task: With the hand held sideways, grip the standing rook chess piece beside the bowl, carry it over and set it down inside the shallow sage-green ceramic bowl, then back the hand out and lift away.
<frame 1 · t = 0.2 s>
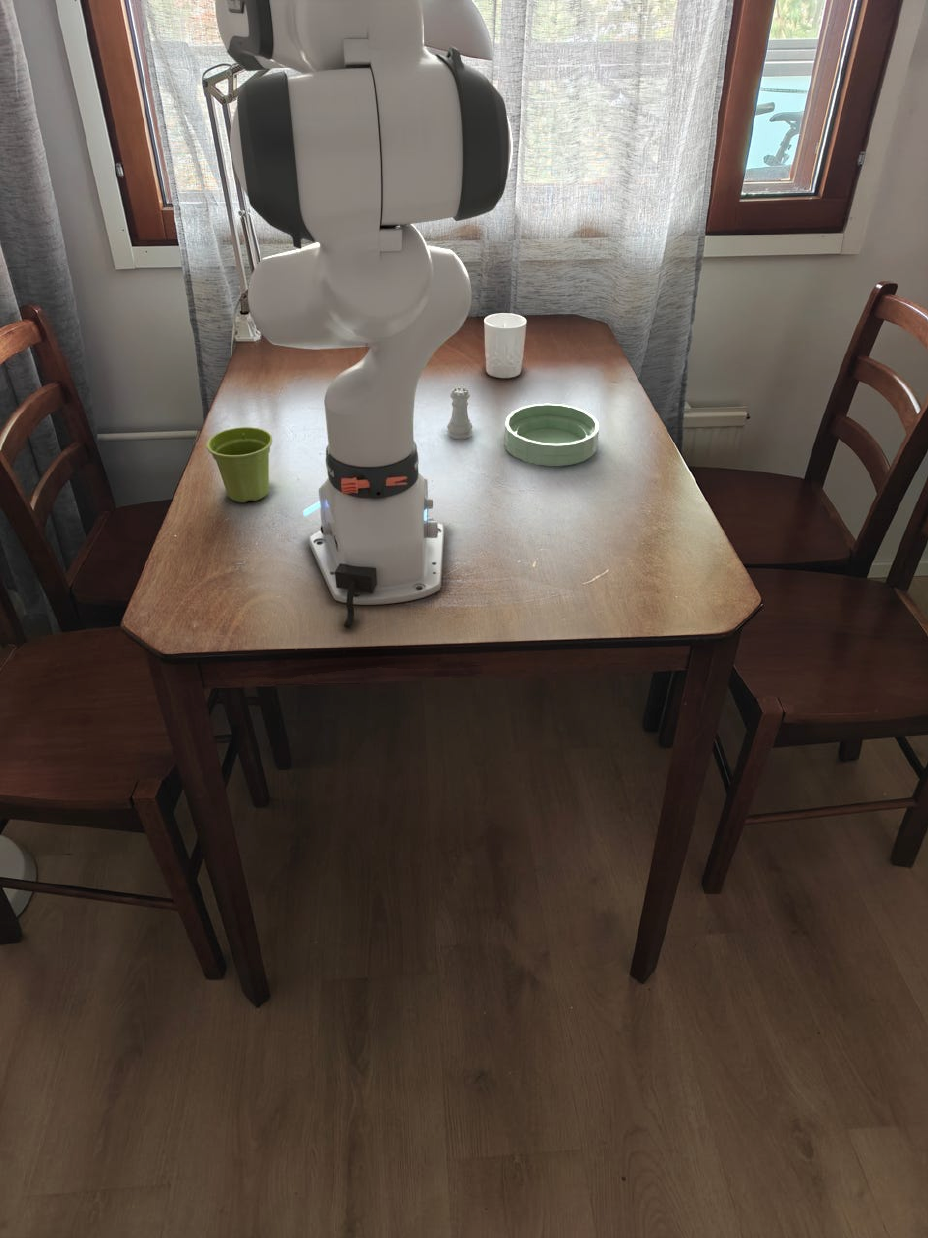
hand: (344, 198, 117), 39 cm above the table, tool pointing down, fingers open, 8 cm apart
plant pot: (248, 494, 132), on the table
white cup: (503, 372, 169), on the table
rook chess piece: (459, 435, 148), on the table
bowl: (550, 447, 145), on the table
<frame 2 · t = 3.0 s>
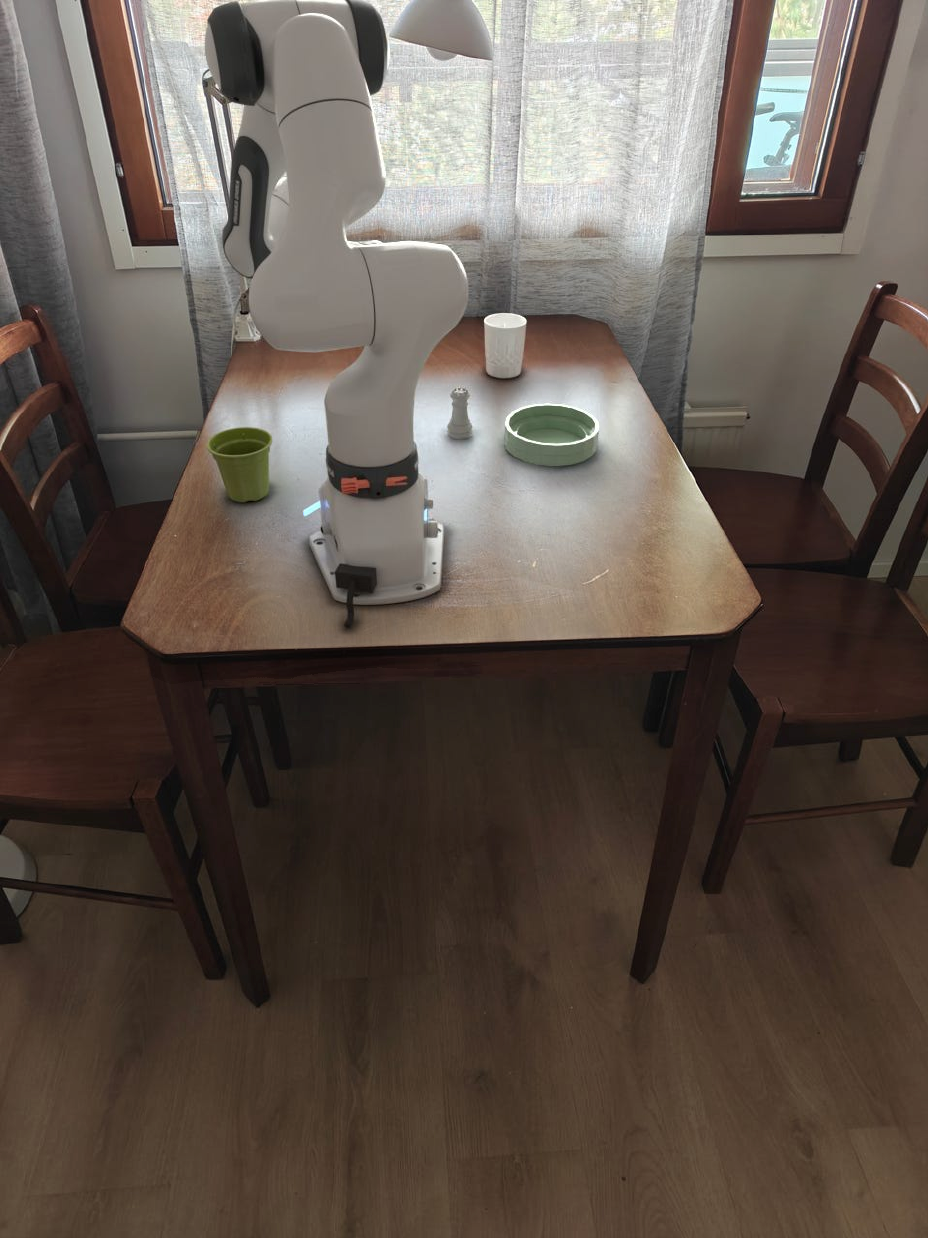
hand: (402, 287, 141), 22 cm above the table, tool horizontal, fingers open, 8 cm apart
nothing on the table moved.
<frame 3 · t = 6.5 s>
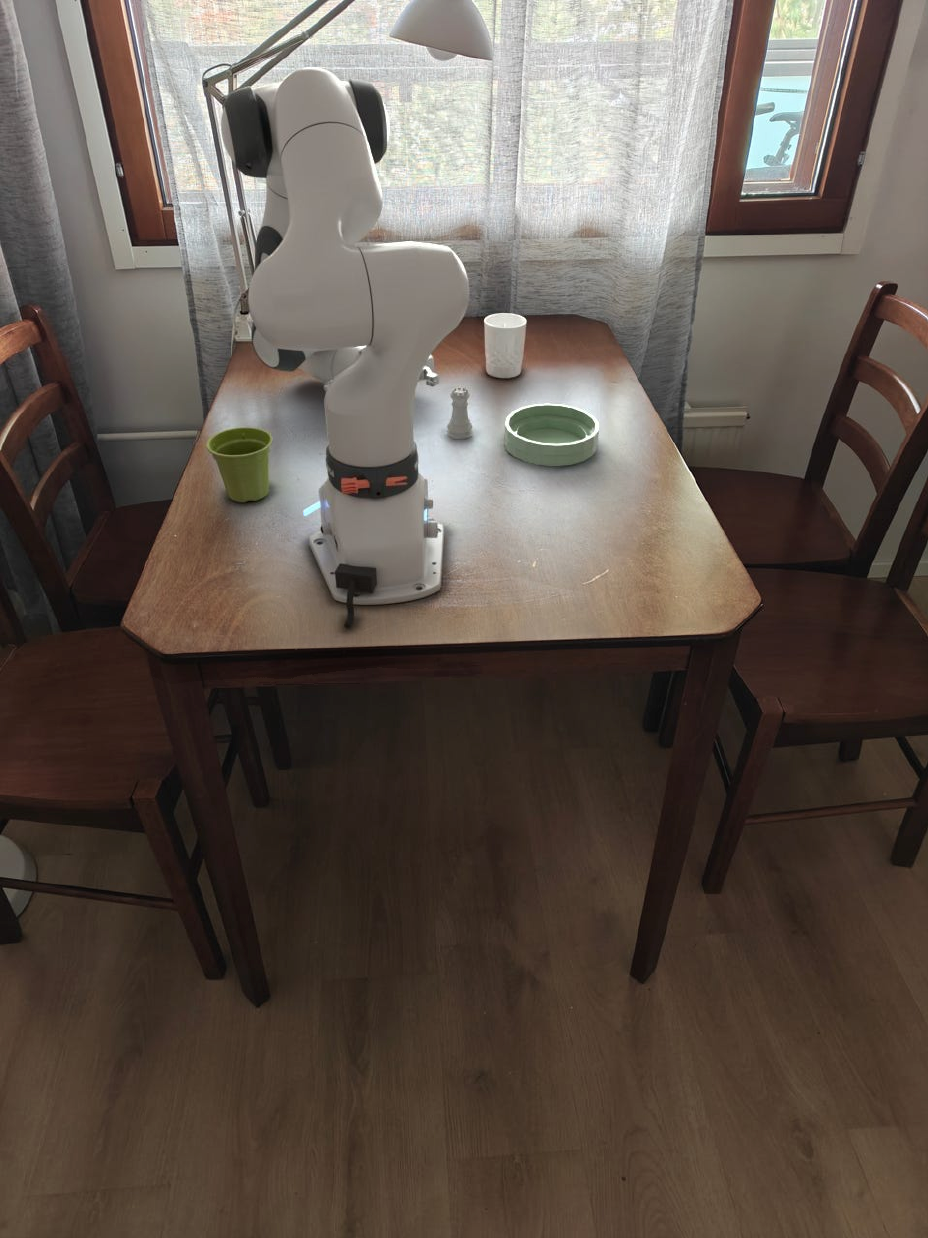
hand: (418, 389, 149), 5 cm above the table, tool horizontal, fingers open, 8 cm apart
nothing on the table moved.
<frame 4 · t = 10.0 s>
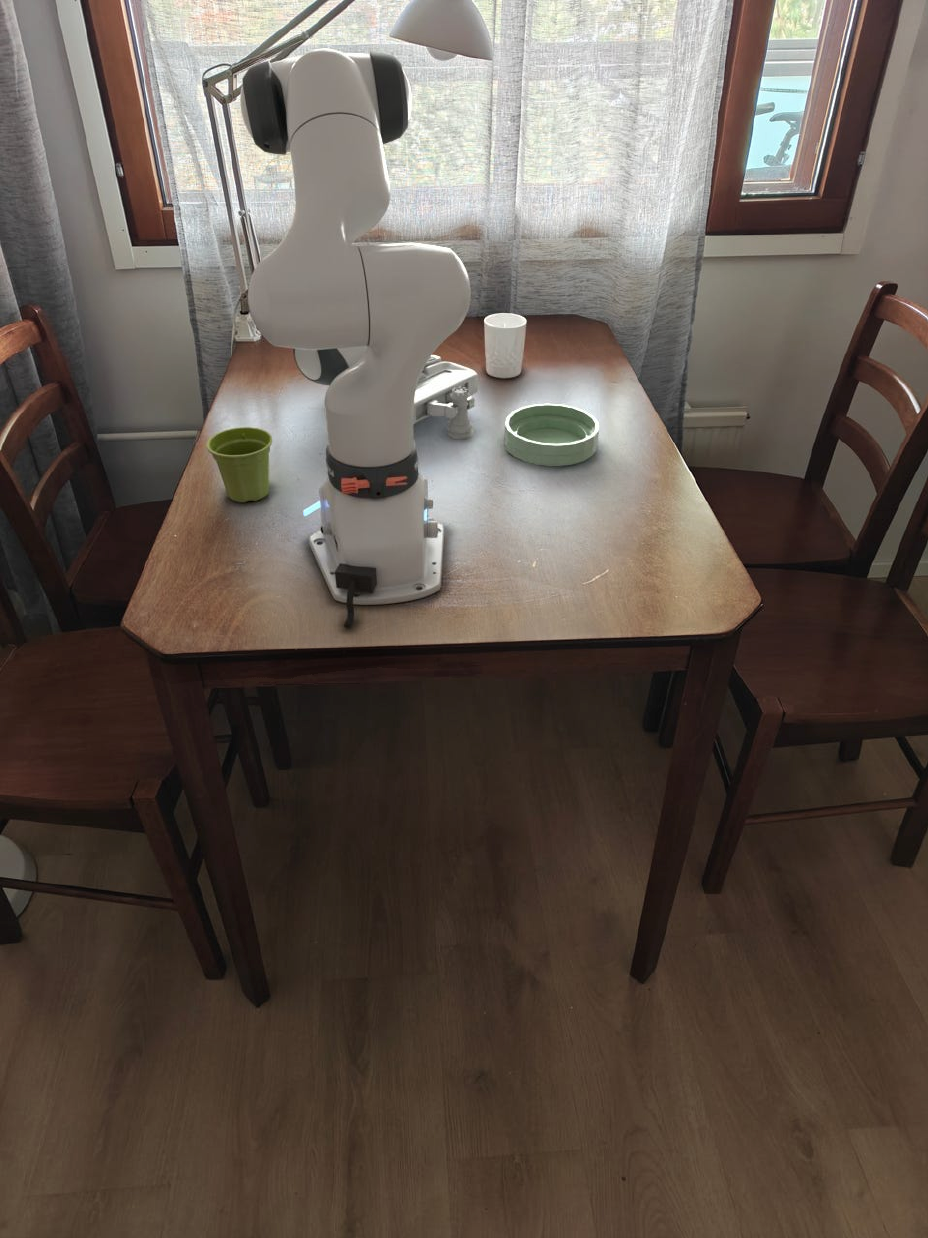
hand: (464, 408, 145), 5 cm above the table, tool horizontal, fingers closed on rook chess piece, 3 cm apart
rook chess piece: (459, 435, 148), on the table, touching gripper
everything else where it was.
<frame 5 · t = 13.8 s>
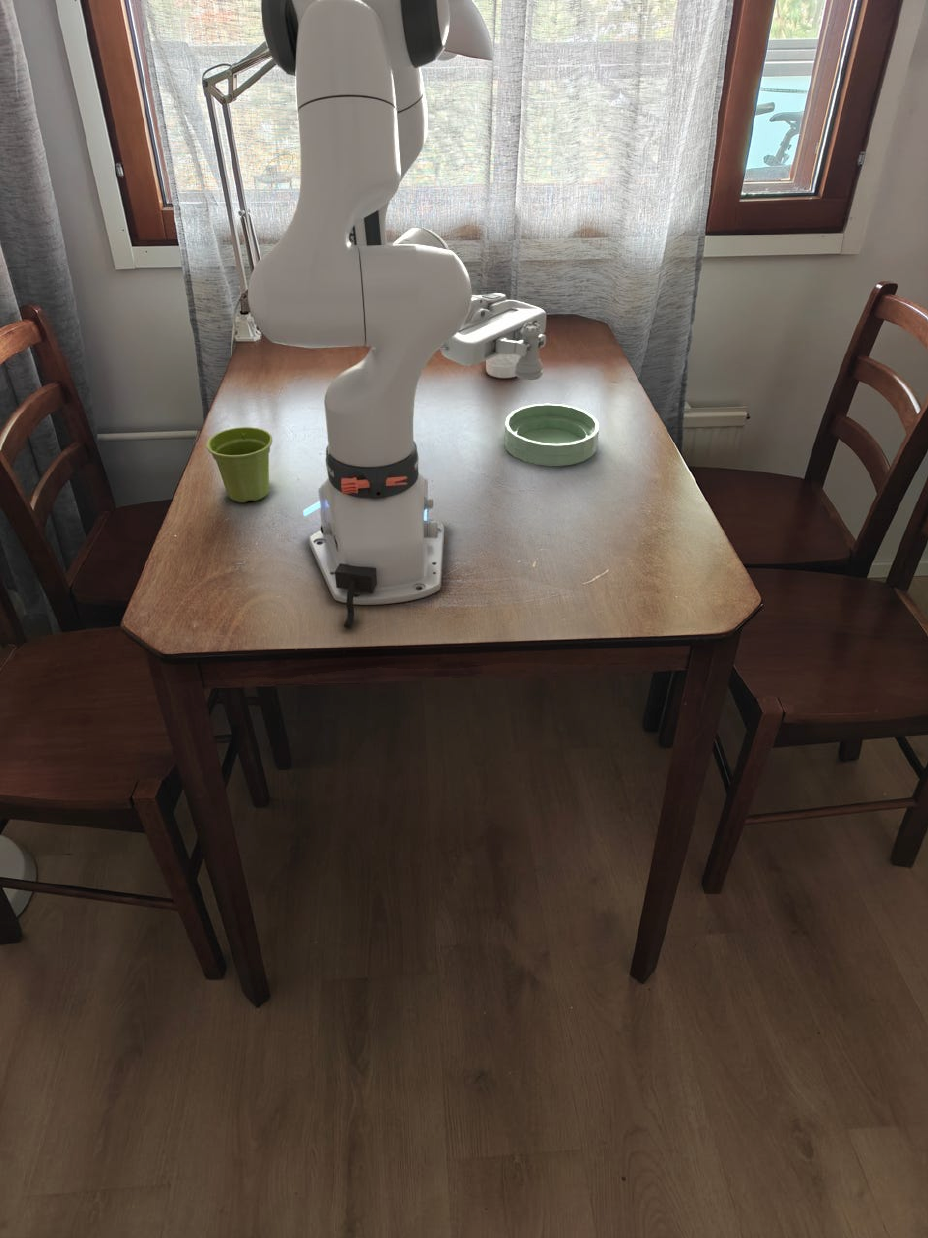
hand: (535, 345, 135), 17 cm above the table, tool horizontal, fingers closed on rook chess piece, 3 cm apart
rook chess piece: (528, 376, 138), point 12 cm above the table, touching gripper
everything else where it was.
when the fingers open (6 cm above the table, at t = 17.8 s): rook chess piece stays where it is, resting on bowl.
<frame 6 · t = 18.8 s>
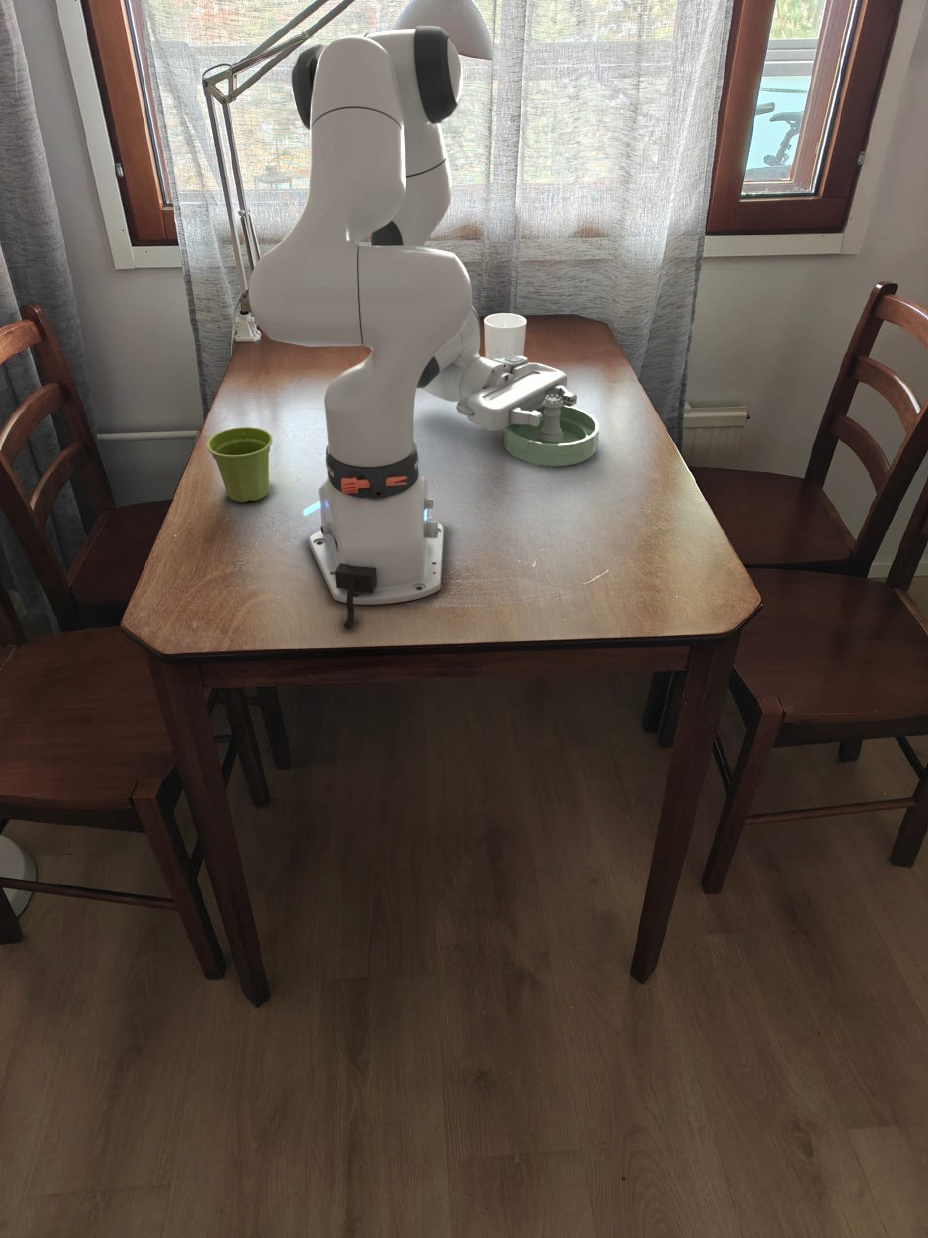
hand: (557, 410, 140), 7 cm above the table, tool horizontal, fingers open, 8 cm apart
rook chess piece: (549, 444, 145), resting on bowl
everything else where it was.
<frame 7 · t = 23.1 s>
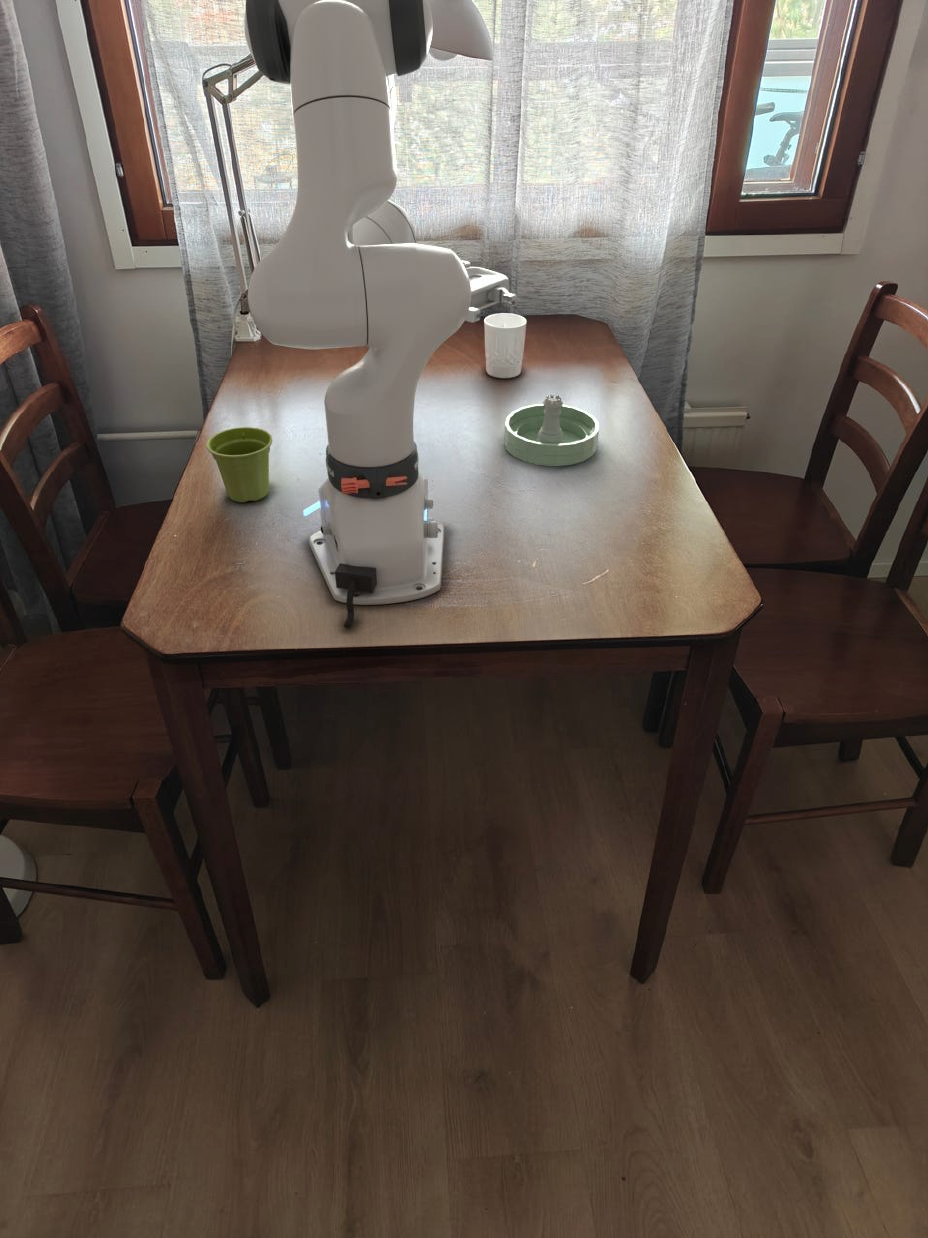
hand: (496, 308, 138), 20 cm above the table, tool horizontal, fingers open, 8 cm apart
nothing on the table moved.
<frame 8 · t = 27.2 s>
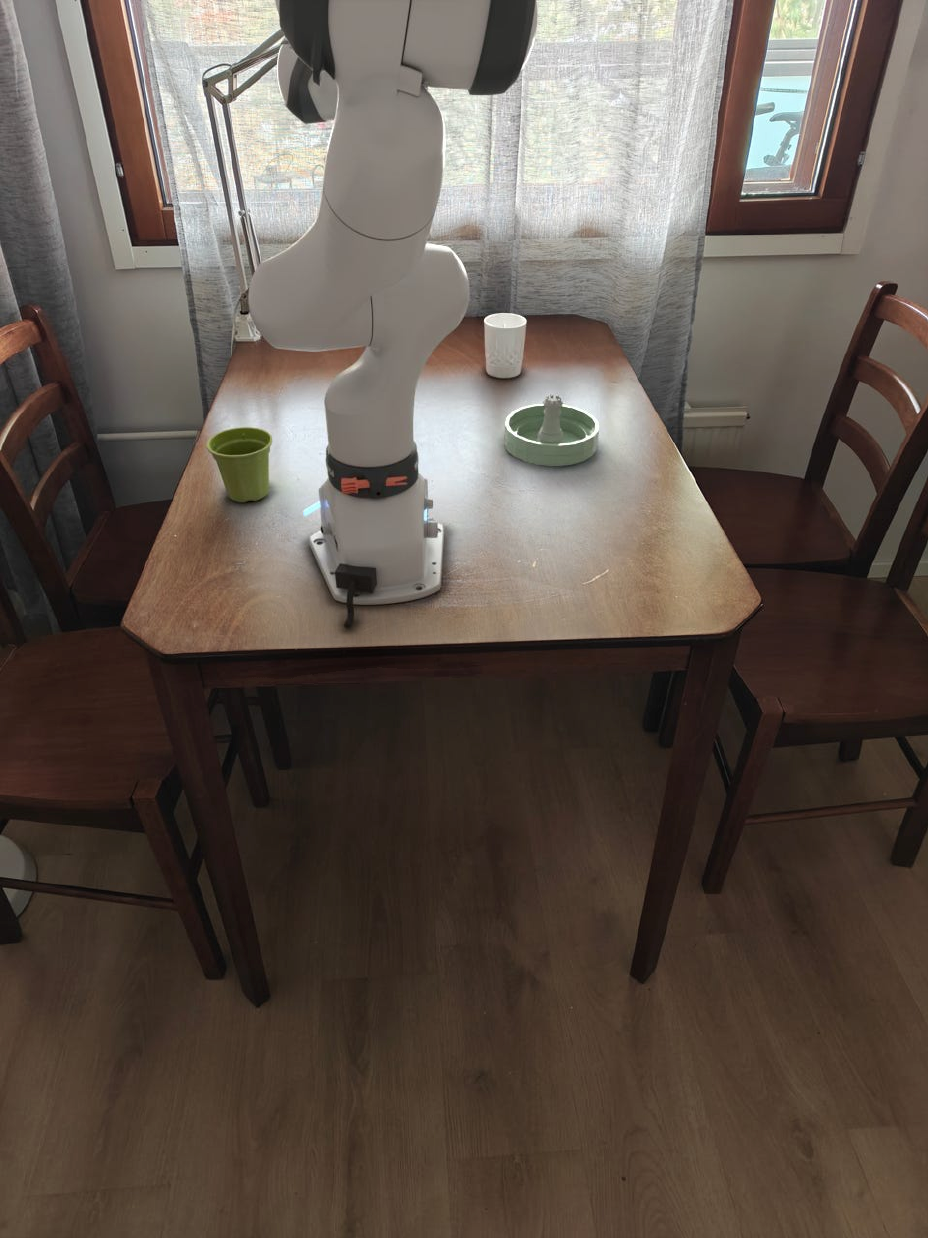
hand: (384, 240, 129), 31 cm above the table, tool pointing down, fingers open, 8 cm apart
nothing on the table moved.
at the end: rook chess piece inside the target area in the bowl (0.2 cm from its centre), point 0.4 cm above the bowl's base; the gripper is holding nothing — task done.
